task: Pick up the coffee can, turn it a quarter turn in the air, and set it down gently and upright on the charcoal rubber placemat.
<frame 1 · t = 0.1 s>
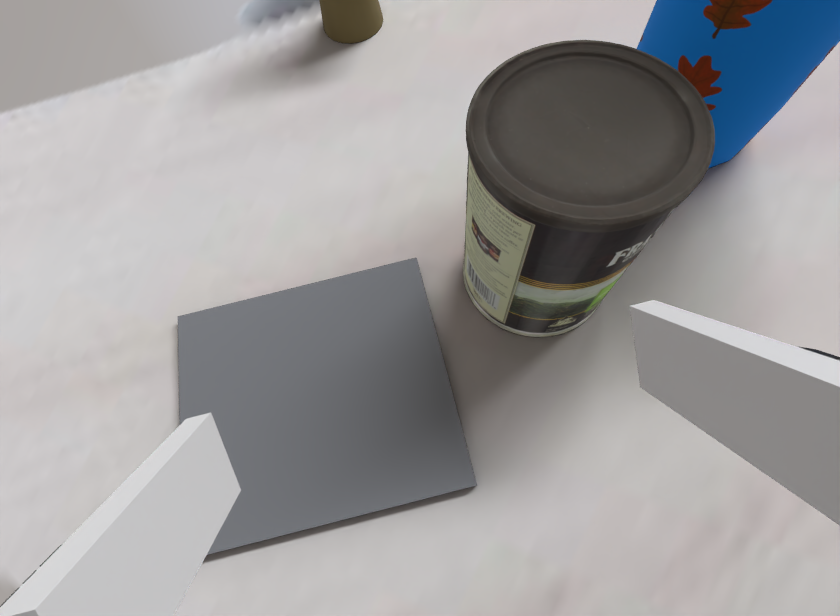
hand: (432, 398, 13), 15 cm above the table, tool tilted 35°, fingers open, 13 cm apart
coffee can: (532, 271, 32), on the table
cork: (353, 24, 43), on the table
placemat: (315, 394, 29), on the table
thermos: (679, 120, 36), on the table
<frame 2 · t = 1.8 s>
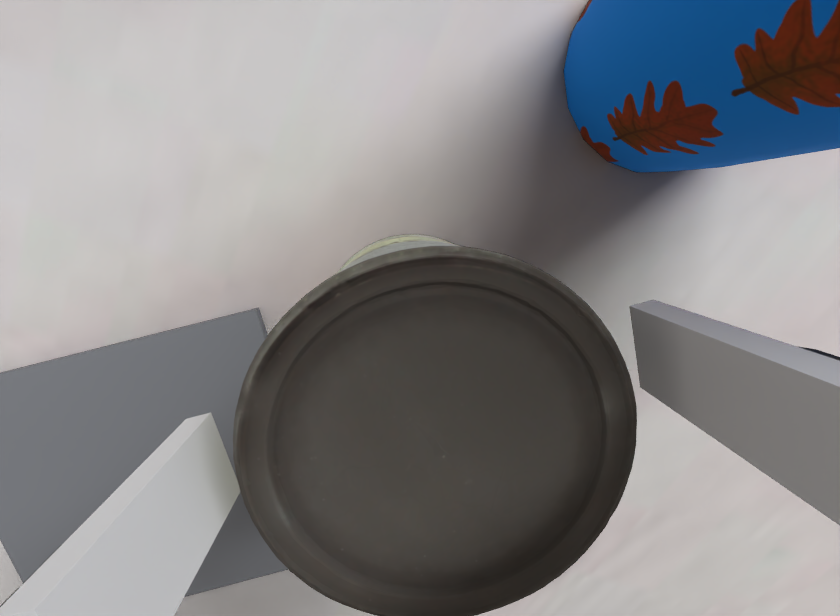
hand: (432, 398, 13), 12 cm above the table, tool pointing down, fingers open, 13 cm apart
coffee can: (412, 322, 25), on the table
placemat: (151, 474, 25), on the table
thermos: (657, 71, 23), on the table
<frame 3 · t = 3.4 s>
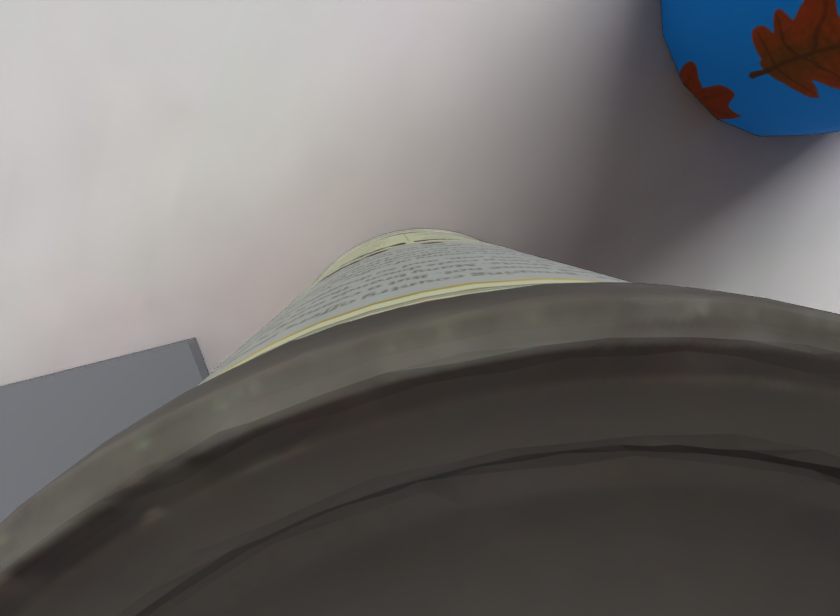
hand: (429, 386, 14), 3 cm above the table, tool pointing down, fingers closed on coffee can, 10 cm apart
coffee can: (422, 356, 17), on the table, touching gripper
placemat: (49, 573, 18), on the table
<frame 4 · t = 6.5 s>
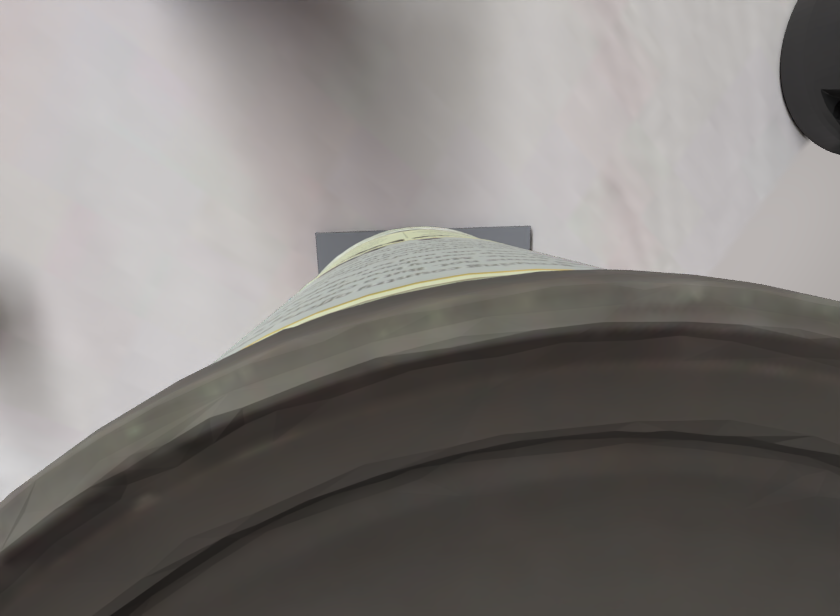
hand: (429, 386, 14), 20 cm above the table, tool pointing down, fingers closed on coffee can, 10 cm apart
coffee can: (421, 354, 17), point 17 cm above the table, touching gripper
placemat: (427, 343, 34), on the table
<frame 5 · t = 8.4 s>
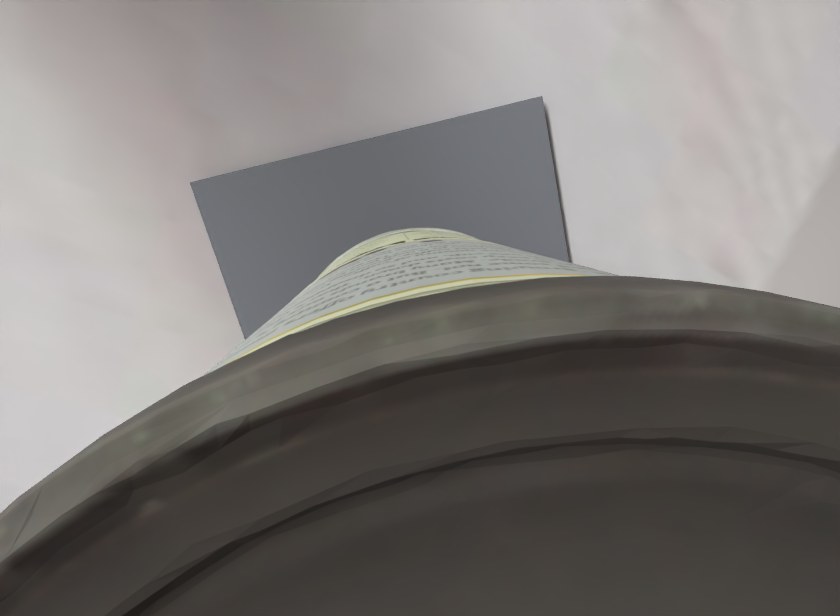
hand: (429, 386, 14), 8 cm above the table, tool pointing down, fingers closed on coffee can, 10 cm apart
coffee can: (422, 355, 17), point 5 cm above the table, touching gripper
placemat: (414, 326, 22), on the table
when the fingers open (5 cm above the table, at t = 9.9 s): coffee can drops 1 cm, resting on placemat.
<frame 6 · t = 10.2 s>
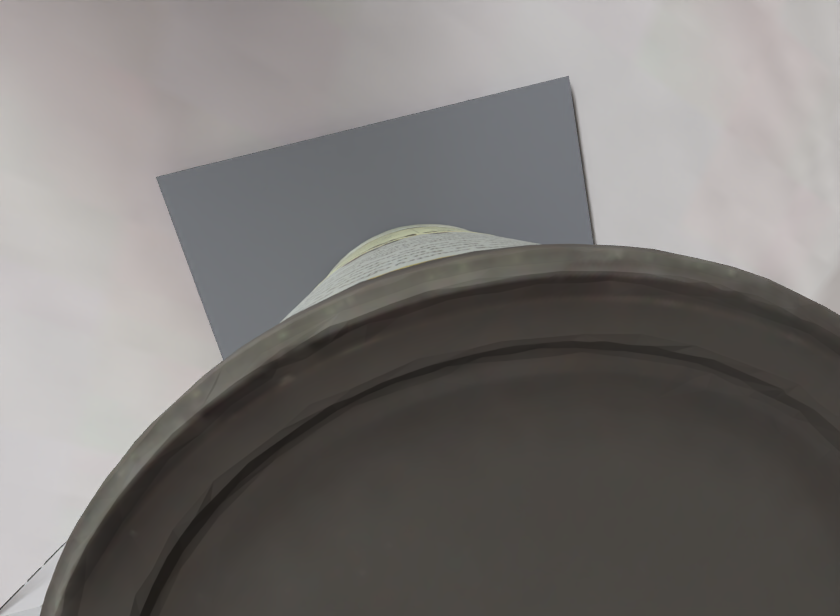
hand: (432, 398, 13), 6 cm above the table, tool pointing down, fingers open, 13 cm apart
coffee can: (427, 342, 18), resting on placemat
placemat: (419, 343, 19), on the table
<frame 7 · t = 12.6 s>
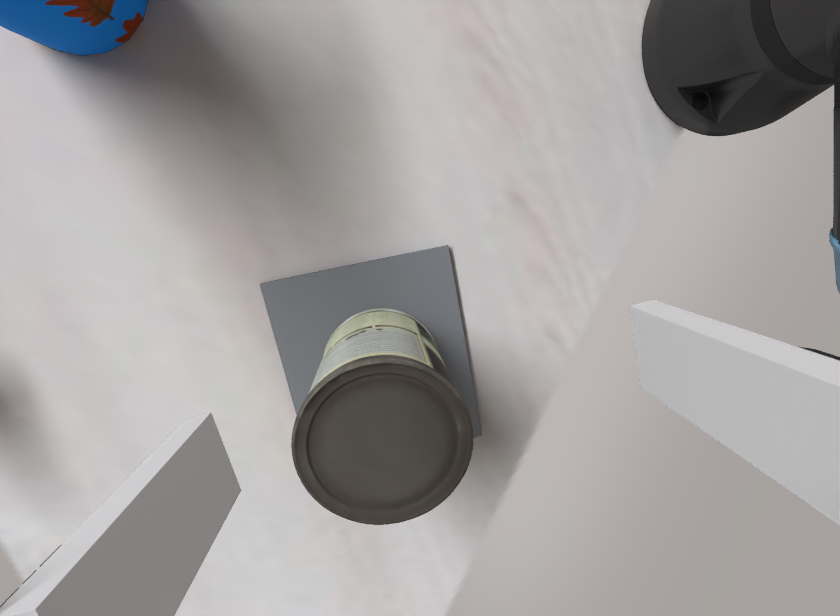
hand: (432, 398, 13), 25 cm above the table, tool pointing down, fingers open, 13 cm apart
coffee can: (381, 362, 38), resting on placemat
placemat: (377, 362, 39), on the table
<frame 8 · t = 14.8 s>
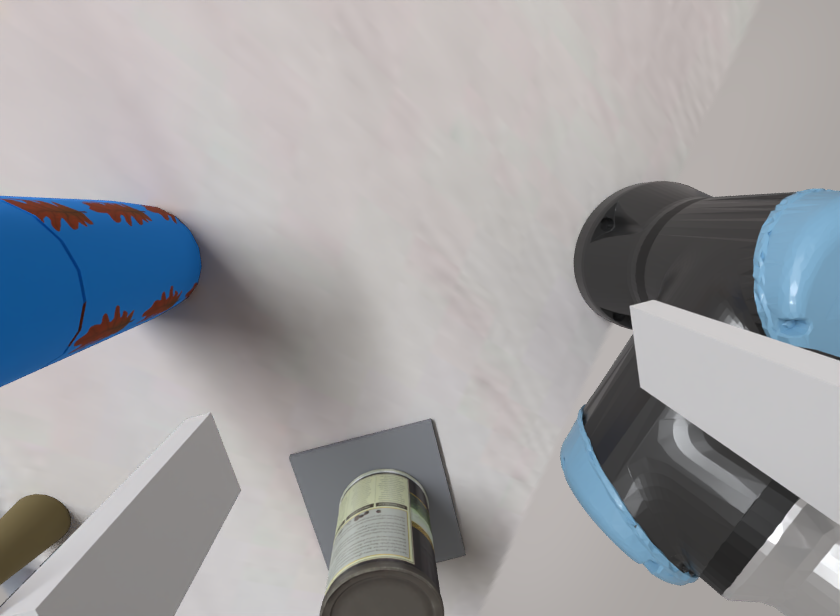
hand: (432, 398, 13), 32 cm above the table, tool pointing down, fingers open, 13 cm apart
coffee can: (384, 506, 49), resting on placemat
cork: (42, 517, 47), on the table
placemat: (381, 505, 50), on the table
thermos: (147, 259, 42), on the table
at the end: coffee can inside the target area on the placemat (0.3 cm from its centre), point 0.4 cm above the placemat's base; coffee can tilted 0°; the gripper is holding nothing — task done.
